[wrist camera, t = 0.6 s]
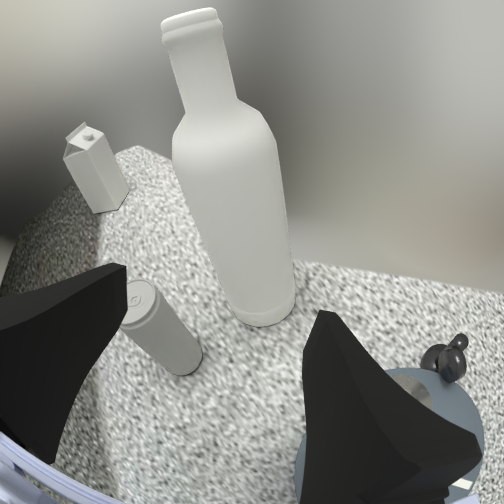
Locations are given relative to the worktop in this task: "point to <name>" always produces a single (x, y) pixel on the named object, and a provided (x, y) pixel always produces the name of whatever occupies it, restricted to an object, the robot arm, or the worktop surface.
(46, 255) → the worktop surface
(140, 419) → the worktop surface
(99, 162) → the milk carton
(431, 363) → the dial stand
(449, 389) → the turntable
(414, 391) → the cover
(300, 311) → the worktop surface
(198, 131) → the bottle
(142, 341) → the beverage can
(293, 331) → the worktop surface
